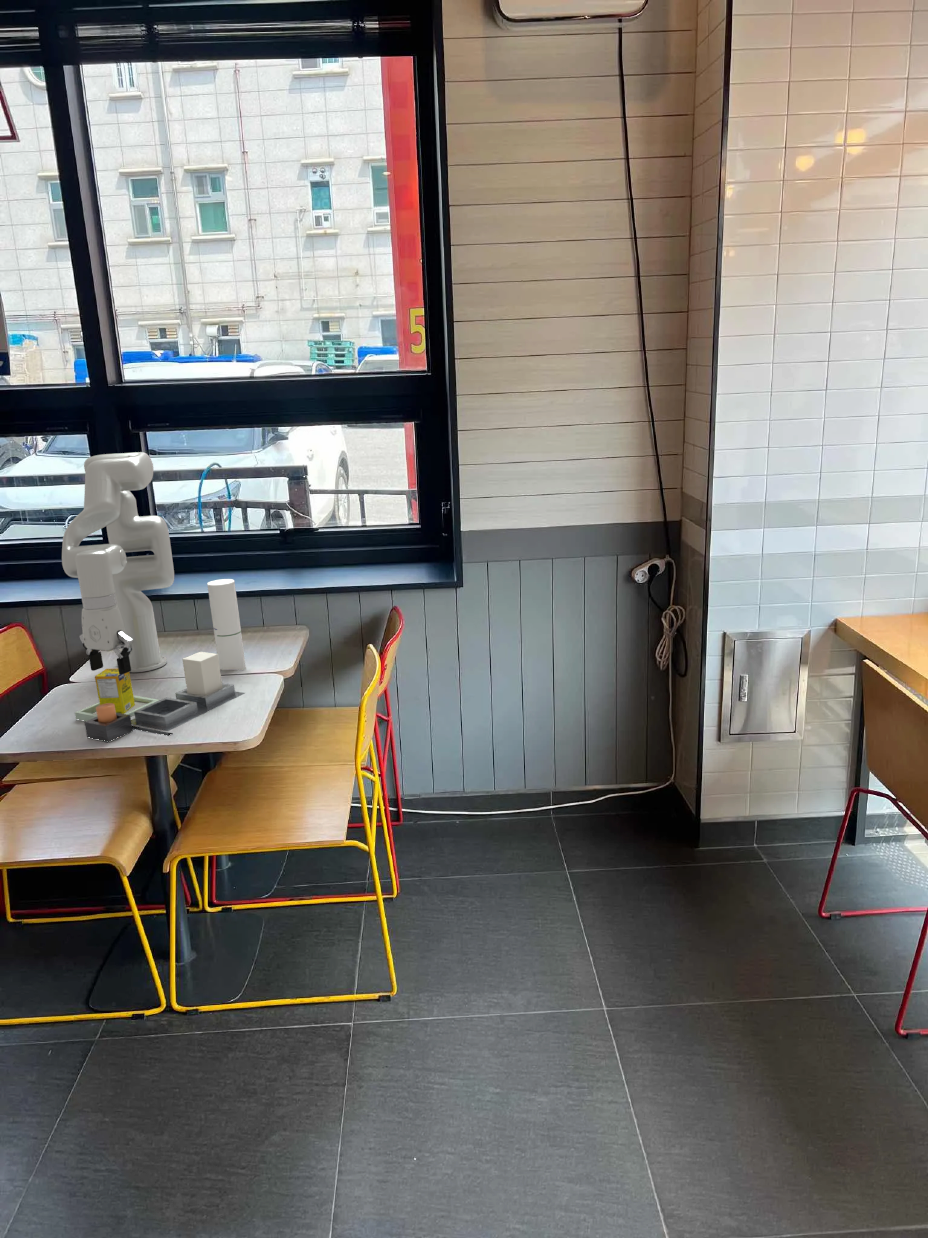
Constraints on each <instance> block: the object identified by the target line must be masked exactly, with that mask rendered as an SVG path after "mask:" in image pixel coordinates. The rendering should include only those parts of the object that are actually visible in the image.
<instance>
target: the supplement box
mask: <svg viewBox="0 0 928 1238" xmlns="http://www.w3.org/2000/svg"><path fill="white" fill-rule="evenodd" d="M130 673H131V672H127V673H125V674H122V675H121V674H119V671H118V667H117V668H105V669H104V670H102V671H101V672H99V673H98V674H96V675H95V676H94V679H95V684H96V690H97V697H98V702H100V705H102V704H106V703H113V704H114V705H115V711H116V713H121V714H125V713H128V712H129V711H130V710H131V709H132V708H133V707H134V706H136V703H135V702H136V701H135V700H134V696H133V695H134V693H133V692H134V691H133V686H132V685H133V684H132V680H131V674H130Z"/></svg>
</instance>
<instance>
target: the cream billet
mask: <svg viewBox="0 0 928 1238" xmlns="http://www.w3.org/2000/svg"><path fill="white" fill-rule="evenodd" d="M182 666H183V673H184V679H185V684H186V688H187V693H188V694H194V695H201V696H207V695H209V694H211V693H213V692H215V691H218V690H220V689H222V688H223V687H222V683H223V680H222V674H221V669H220V665H219V658H218V654H217V653H212V652H207V651H206V652H205V651H198V652H196V653H194V654H191V655H189V656H187V657H184V658H182Z"/></svg>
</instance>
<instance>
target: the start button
mask: <svg viewBox="0 0 928 1238" xmlns="http://www.w3.org/2000/svg"><path fill="white" fill-rule="evenodd" d="M96 711H97V712H96V714H97V717H98V722H101V723H109V722H111V721H113V720H115V719H117V716H116V711H115V705H114V704H113V703H106V704H102V705H99V706H97V707H96Z"/></svg>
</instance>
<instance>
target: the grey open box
mask: <svg viewBox="0 0 928 1238" xmlns="http://www.w3.org/2000/svg"><path fill="white" fill-rule="evenodd" d="M222 687H223V688H222V689H220V690H218V691H215V692H213V693H211V694H209V695H207V696H201V695H194V694H188V693H187V687H186V688H184V689H182V690H180V691H178V692H176V693H175V698H172V697H163V698H162V699H158V700H159V701H157V702H155V703H153V704H150V705H148V706H146V707H144V708H141V709H139V710H137V711H135V712H134V714H135V715H134V717H133V719H131V724H132V730H135V729H136V730H137V731H141V730H142V732H146V731H148V733H152V734H156V733H157V734H158V735H161V734H164V735H163V736H166V735H167V737H170V736H171V735H170V734H172V735H173V732H170V731H171V730H173V729H175V728H177V727H179V726H182V725H183V724H185V723H188V722H190V721H192V720H194V719H196V718H197V717H200V716H203V715H204V714H207V713H208V712H210V711H212V710H214V709H216V708H218V707H220V706H223V705H224V704H226V703H229V702H230V701H233V700H234V699H237V698H239V697H240V696H242V695H245V694H246V692H242V691H236V690H235V689H236V688H235V684H234V683H227V682H222ZM133 728H134V729H133ZM136 730H135V731H136ZM169 735H170V736H169Z"/></svg>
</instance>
